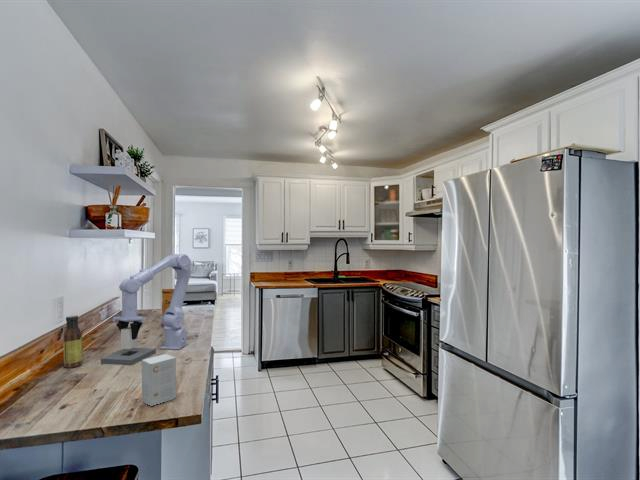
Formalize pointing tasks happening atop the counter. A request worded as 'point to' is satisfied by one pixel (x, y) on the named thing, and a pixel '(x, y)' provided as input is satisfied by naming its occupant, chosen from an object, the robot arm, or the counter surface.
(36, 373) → the counter surface
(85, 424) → the counter surface
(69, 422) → the counter surface
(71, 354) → the sauce bottle
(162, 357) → the small box
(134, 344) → the plug
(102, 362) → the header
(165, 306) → the coffee package
